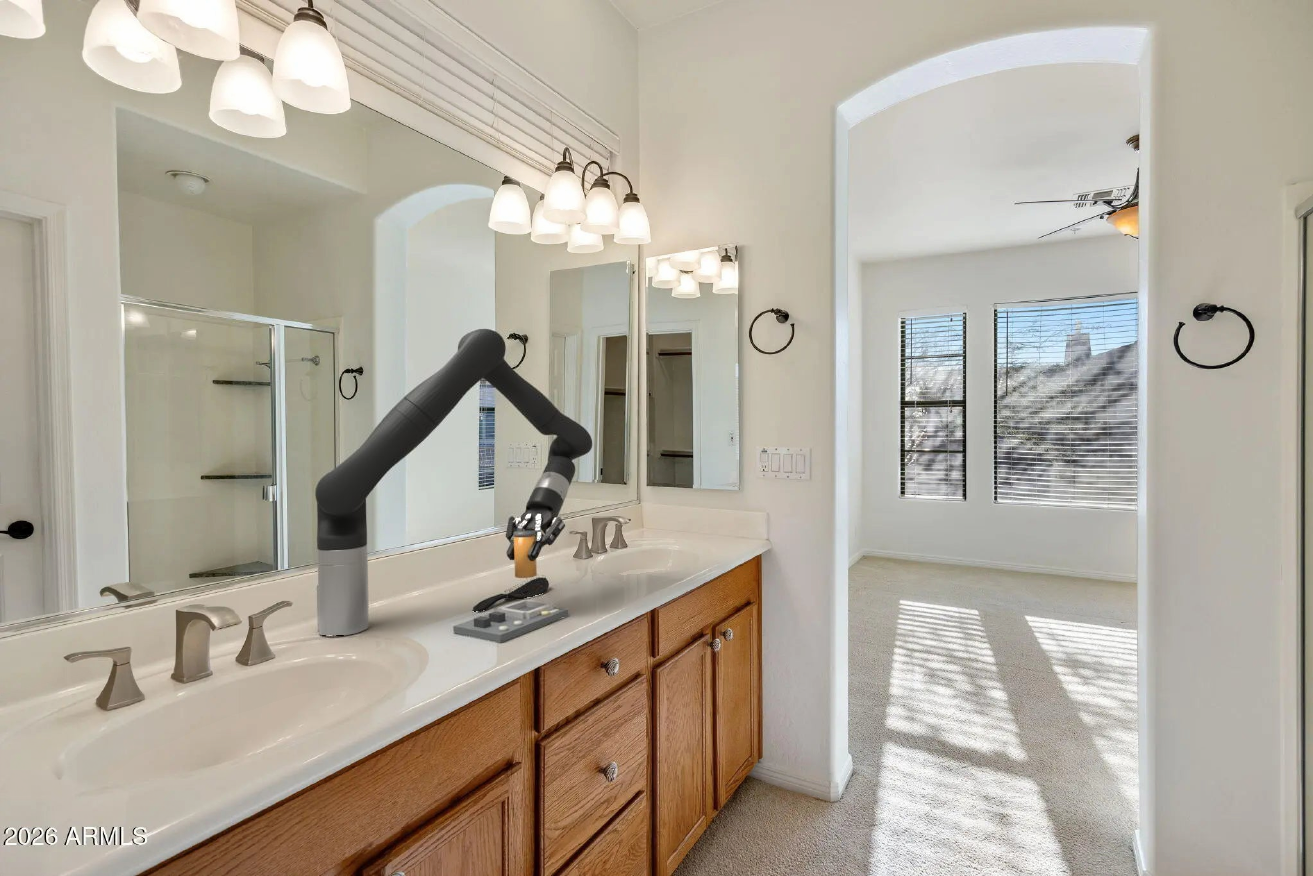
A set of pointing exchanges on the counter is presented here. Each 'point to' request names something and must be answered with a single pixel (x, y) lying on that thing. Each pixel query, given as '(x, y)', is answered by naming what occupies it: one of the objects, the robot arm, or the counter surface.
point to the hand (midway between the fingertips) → (520, 558)
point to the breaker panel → (511, 620)
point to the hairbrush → (516, 593)
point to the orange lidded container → (524, 554)
